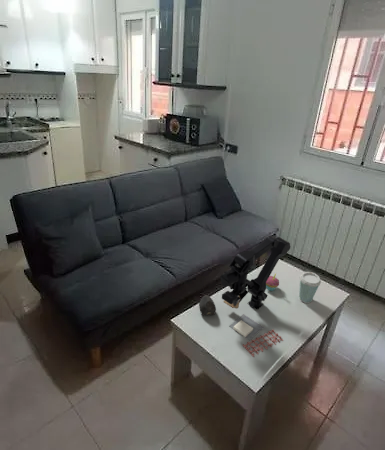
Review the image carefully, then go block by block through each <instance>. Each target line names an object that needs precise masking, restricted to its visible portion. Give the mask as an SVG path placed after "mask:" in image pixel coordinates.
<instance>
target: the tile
mask: <svg viewBox="0 0 385 450" xmlns="http://www.w3.org/2000/svg"><path fill="white" fill-rule="evenodd" d="M233 329H234V331H235V330H236V331H237V332H236V331H235V332H236V333H238V332H239V333H240V334H242V335H243V336H244V337H243V336H242V335H241V336H242V337H243V338H245V337H246V336H247V335H248V334H249V333H251V332H252V331H253V328H252V327H251V326H249V325H248V324H246V323H245V322H243V321H242V320H241V321H239V322H238V323H237V324H236V325H235V326H234V327H233ZM233 329H232V330H233ZM239 333H238V334H239ZM240 334H239V335H240Z"/></svg>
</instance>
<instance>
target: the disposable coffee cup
mask: <svg viewBox="0 0 385 450" xmlns="http://www.w3.org/2000/svg"><path fill="white" fill-rule="evenodd" d="M321 283H322V281H321V277H320V276H319V275H318V274H316V272H311V271H304V272H302V274H300V276H299V290H298V297H299V300H300V301H301V302H302V303H305V304H309V303H311V302H312V301H313V299H314V296H315V295H316V293H317V291H318V288H319V286H321Z"/></svg>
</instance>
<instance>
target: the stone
mask: <svg viewBox="0 0 385 450" xmlns="http://www.w3.org/2000/svg"><path fill="white" fill-rule="evenodd" d="M198 302H199V304H198V308H199V312H200V313H201V315H202V316H213V315H215V314H216V311H217V308H216V304H215V302H214V300H213V298H212V297H210V295H208V294H206V295H203V296H202V297H201V298H200V301H198Z"/></svg>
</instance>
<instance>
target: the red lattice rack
mask: <svg viewBox="0 0 385 450" xmlns="http://www.w3.org/2000/svg"><path fill="white" fill-rule="evenodd" d="M274 334H275V335H274ZM269 335H271V336H269ZM264 337H266V338H267V339H266V338H264ZM261 339H262V340H263V341H261ZM257 341H258V342H257ZM269 341H271V343H270V342H269ZM282 341H284V339H283V338H282V336H281V335H279V333H277V332H275V329H271V330H268V331H267V332H266V333H265V332H264V333H263V335H259V336H258V337H255V339H251V340H250V341H247V343H245V344H242V347H243V348H245V350H247V351H246V352H248V353H249V354H250V355H251V356H252V357H253V358H254V357H255V353H256V355H259V351H261V352H264V349H266V350H268V349H269V348H268V347H270V348H272V347H273V345H277V343H280V342H282ZM264 343H266V344H267V345H265V344H264ZM252 344H254V345H252ZM261 345H262V346H261ZM248 346H249V347H248ZM260 346H261V347H260ZM250 349H252V350H250Z"/></svg>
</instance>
